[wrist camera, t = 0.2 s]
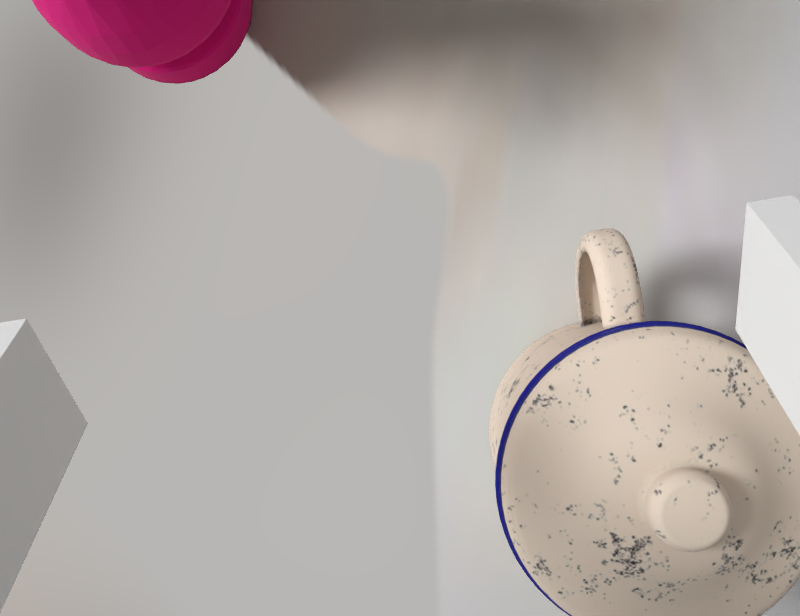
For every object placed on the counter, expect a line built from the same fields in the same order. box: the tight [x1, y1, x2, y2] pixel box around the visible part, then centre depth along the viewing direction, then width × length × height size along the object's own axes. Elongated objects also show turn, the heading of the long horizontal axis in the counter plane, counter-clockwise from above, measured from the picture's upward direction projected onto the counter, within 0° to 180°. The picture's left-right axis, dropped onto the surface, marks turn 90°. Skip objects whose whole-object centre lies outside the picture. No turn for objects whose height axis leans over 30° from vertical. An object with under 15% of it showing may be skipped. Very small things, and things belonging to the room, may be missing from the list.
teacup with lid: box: [490, 229, 800, 616], centre depth 24 cm, size 12×9×12 cm
